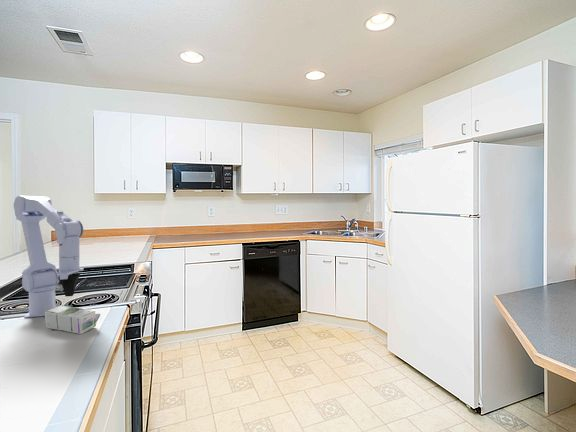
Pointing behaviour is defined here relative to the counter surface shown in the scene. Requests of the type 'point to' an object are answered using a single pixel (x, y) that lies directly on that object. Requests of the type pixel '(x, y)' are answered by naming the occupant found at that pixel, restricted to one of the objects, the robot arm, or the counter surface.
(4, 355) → the counter surface
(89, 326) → the syrup box
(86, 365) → the counter surface
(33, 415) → the counter surface
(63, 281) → the robot arm
